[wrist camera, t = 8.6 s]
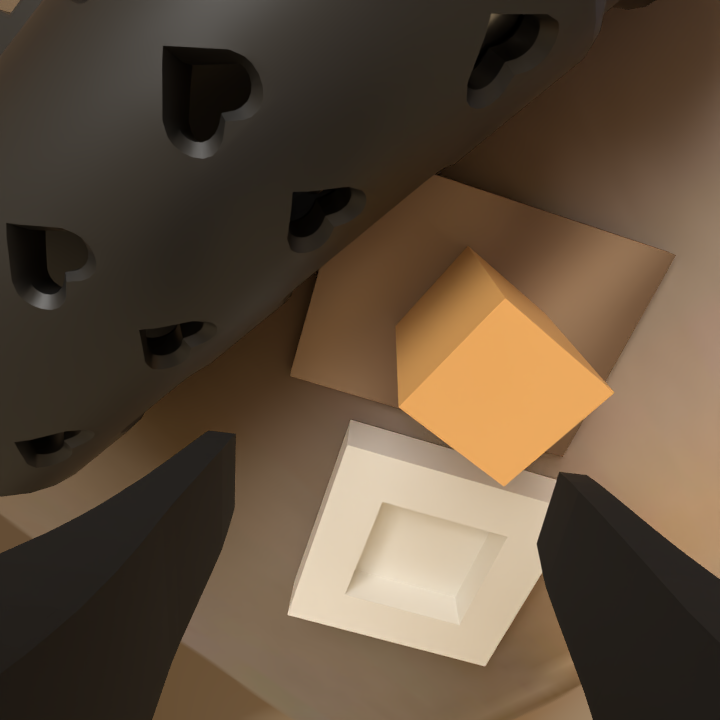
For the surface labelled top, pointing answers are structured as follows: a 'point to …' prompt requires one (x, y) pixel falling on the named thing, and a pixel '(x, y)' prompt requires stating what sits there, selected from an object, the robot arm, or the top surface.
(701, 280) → the top surface
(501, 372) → the plug
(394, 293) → the pad
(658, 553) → the robot arm
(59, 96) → the muzzle brake
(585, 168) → the top surface
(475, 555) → the socket block
